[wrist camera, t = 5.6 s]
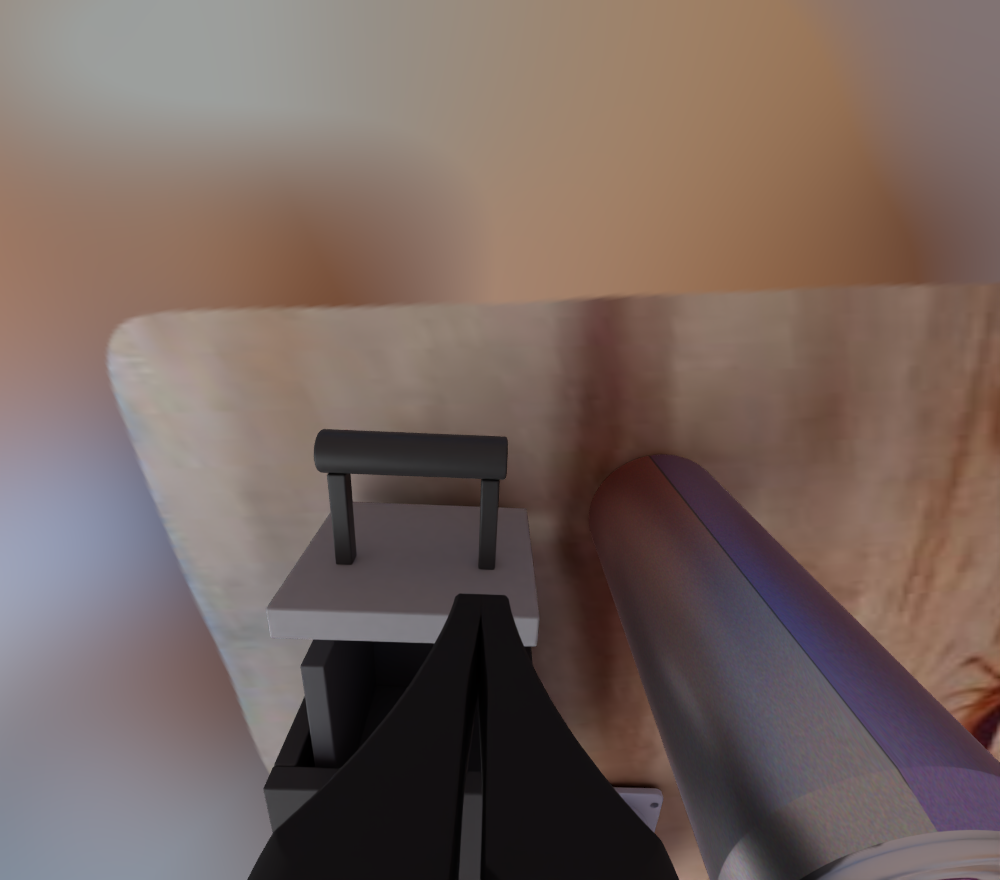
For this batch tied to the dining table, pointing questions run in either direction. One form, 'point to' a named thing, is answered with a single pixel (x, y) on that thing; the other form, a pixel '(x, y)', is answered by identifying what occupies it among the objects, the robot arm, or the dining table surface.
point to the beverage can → (783, 700)
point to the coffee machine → (301, 779)
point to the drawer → (396, 578)
